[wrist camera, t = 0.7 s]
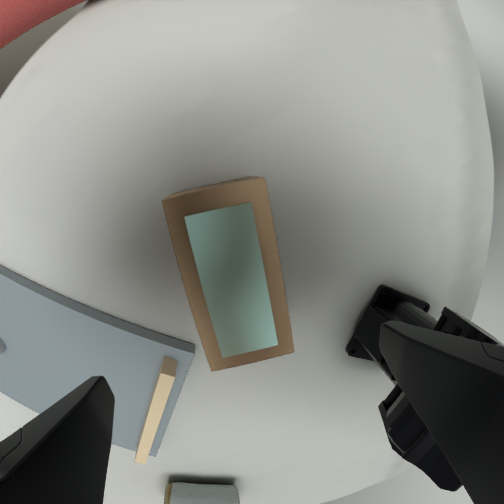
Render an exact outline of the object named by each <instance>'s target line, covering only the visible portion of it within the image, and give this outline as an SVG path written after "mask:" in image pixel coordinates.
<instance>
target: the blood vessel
mask: <svg viewBox="0 0 504 504" xmlns="http://www.w3.org/2000/svg"><path fill="white" fill-rule="evenodd" d="M83 1H86V0H0V49H1V48H2V47H4V46H5V45H6V44H8V43H9V42H11V41H12V40H14V39H16V38H17V37H19V36H20V35H22V34H23V33H25V32H26V31H28V30H30V29H31V28H33V27H35V26H36V25H38V24H40V23H42V22H43V21H45V20H47V19H49V18H51V17H53V16H55V15H56V14H58V13H60V12H62V11H64V10H66V9H68V8H70V7H73V6H75V5H77V4H79V3H81V2H83Z"/></svg>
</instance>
